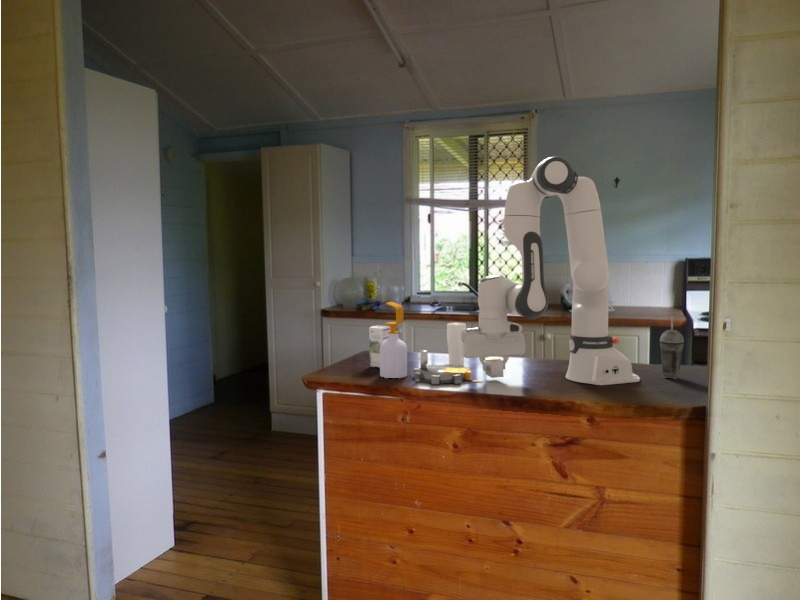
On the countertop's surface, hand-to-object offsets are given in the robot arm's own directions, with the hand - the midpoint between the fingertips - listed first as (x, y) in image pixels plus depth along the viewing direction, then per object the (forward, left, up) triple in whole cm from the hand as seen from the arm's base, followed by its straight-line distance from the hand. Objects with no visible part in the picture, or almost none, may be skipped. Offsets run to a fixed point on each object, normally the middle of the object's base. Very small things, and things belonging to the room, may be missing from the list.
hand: (494, 369), depth 195 cm
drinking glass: (+7, -26, -4) cm, 27 cm away
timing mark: (+6, 0, -4) cm, 7 cm away
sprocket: (+16, -6, -4) cm, 17 cm away
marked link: (0, 0, -2) cm, 2 cm away
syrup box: (+34, -29, -4) cm, 44 cm away
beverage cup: (-56, +5, -4) cm, 57 cm away
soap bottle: (+31, -13, -4) cm, 33 cm away
